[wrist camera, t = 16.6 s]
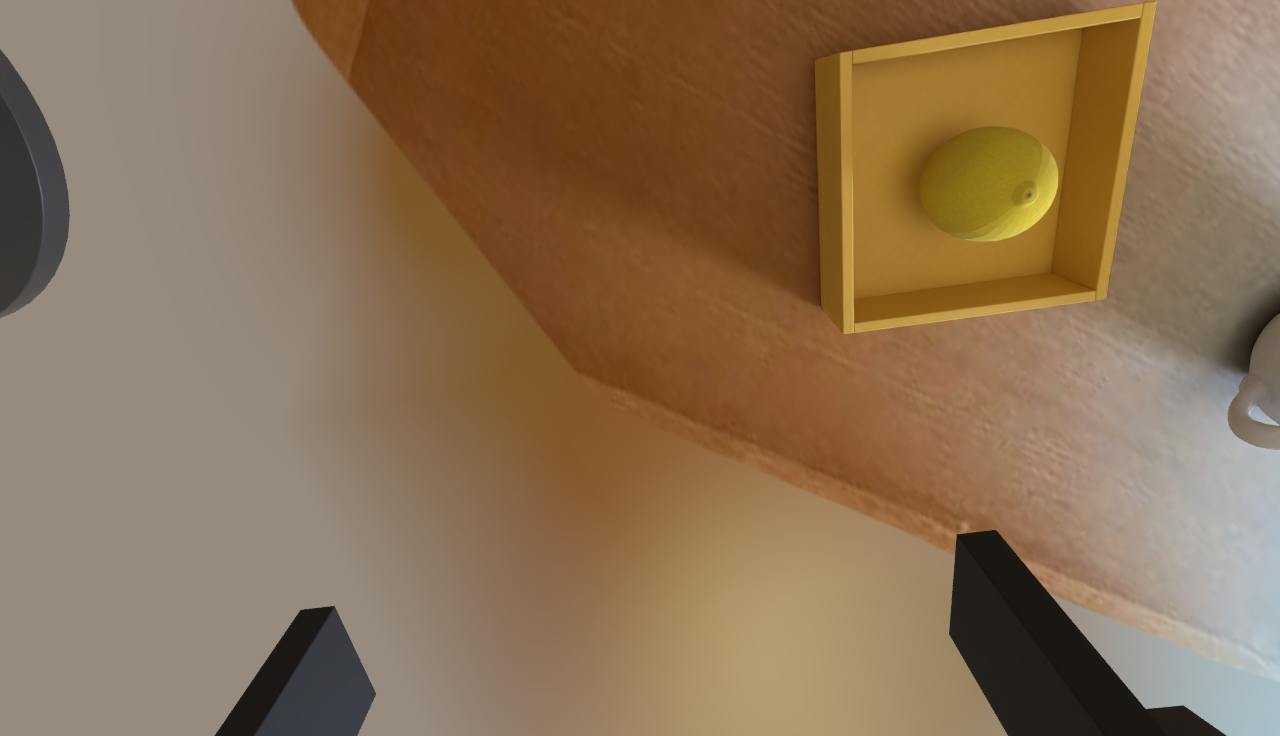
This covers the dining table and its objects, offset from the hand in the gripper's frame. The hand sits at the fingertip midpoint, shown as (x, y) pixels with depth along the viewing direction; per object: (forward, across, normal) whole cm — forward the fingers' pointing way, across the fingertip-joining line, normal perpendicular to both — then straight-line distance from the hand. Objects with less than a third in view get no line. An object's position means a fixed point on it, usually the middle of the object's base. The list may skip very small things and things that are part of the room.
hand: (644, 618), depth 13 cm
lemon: (+26, +18, +4) cm, 32 cm away
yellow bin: (+26, +18, +4) cm, 32 cm away
